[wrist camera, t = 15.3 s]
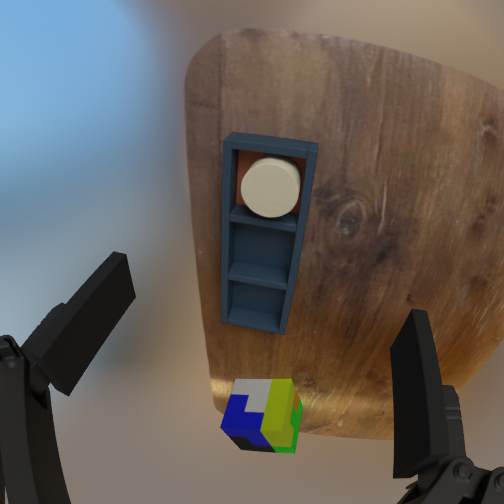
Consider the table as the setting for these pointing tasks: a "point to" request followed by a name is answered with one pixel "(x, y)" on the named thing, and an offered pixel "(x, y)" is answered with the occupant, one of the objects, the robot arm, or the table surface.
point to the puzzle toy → (263, 415)
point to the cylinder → (271, 185)
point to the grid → (261, 236)
